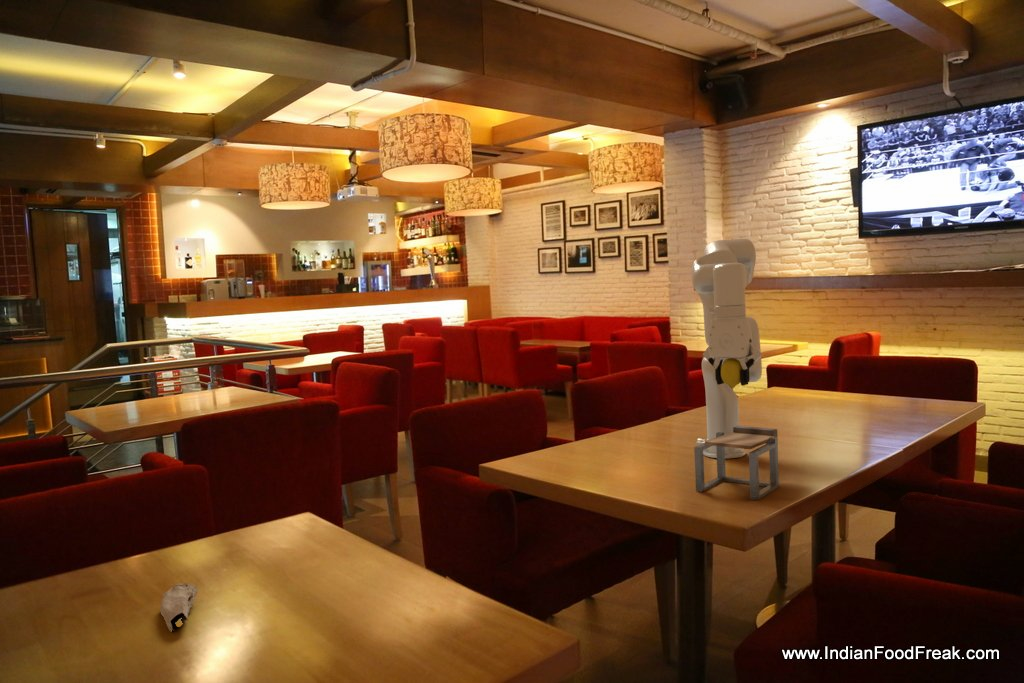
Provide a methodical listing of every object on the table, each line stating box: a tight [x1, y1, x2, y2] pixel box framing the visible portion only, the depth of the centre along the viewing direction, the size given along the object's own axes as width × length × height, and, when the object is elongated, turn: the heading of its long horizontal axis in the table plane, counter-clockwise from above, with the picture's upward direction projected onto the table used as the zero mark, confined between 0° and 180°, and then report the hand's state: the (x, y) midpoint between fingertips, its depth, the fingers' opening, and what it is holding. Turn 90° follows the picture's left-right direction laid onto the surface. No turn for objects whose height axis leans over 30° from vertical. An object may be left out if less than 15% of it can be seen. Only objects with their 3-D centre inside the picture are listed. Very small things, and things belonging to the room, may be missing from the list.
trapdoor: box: [705, 425, 779, 450], centre depth 188 cm, size 12×19×4 cm, turn 139°
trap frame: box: [694, 432, 780, 501], centre depth 186 cm, size 16×14×13 cm
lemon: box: [721, 358, 742, 389], centre depth 183 cm, size 6×6×8 cm
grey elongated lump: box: [160, 582, 198, 631], centre depth 127 cm, size 14×6×5 cm, turn 20°
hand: (732, 383), depth 183 cm, fingers closed on lemon, 5 cm apart
